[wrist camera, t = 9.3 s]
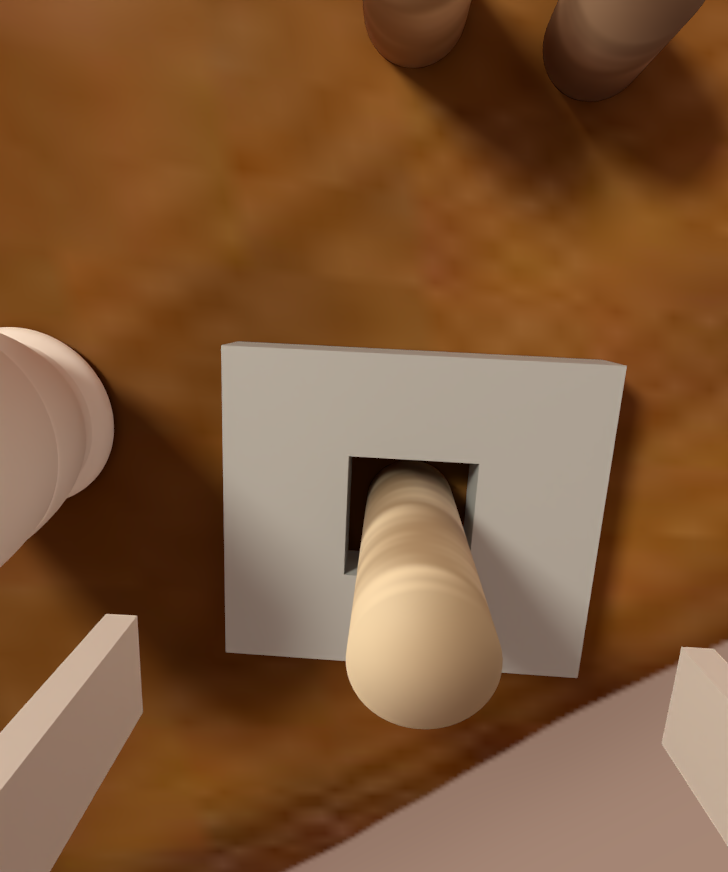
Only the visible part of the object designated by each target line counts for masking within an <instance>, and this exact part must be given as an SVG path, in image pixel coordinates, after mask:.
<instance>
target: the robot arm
mask: <svg viewBox="0 0 728 872" xmlns="http://www.w3.org/2000/svg"><path fill="white" fill-rule="evenodd" d="M142 713H143V707H142V690H141V672H140V654H139V637H138V619H137V616H136V615H118V614H105V616H104V617H103V618H102V619H101V620H100V621H99V622H98V623H97V625H96V626H95V627H94V628H93V629H92V630H91V631H90V632H89V634H88V635H87V636H86V637H85V638H84V639H83V640H82V641H81V643H80V644H79V645H78V646H77V647H76V648H75V649H74V650H73V652H72V653H71V654H70V655H69V656H68V657H67V658H66V659H65V661H64V662H63V663H62V664H61V665H60V666H59V667H58V668H57V670H56V671H55V672H54V673H53V674H52V675H51V676H50V677H49V679H48V680H47V681H46V682H45V683H44V684H43V685H42V686H41V688H40V689H39V690H38V691H37V692H36V693H35V694H34V695H33V697H32V698H31V699H30V700H29V701H28V702H27V703H26V704H25V706H24V707H23V708H22V709H21V710H20V711H19V712H18V713H17V715H16V716H15V717H14V718H13V719H12V720H11V721H10V722H9V724H8V725H7V726H6V727H5V728H4V729H3V730H2V731H1V733H0V872H50V871H51V869H52V867H53V865H54V864H55V862H56V860H57V859H58V857H59V855H60V853H61V852H62V850H63V848H64V847H65V845H66V843H67V841H68V840H69V838H70V836H71V835H72V833H73V831H74V829H75V828H76V826H77V824H78V823H79V821H80V819H81V817H82V816H83V814H84V812H85V811H86V809H87V807H88V805H89V804H90V802H91V800H92V799H93V797H94V795H95V793H96V792H97V790H98V788H99V787H100V785H101V783H102V781H103V780H104V778H105V776H106V775H107V773H108V771H109V769H110V768H111V766H112V764H113V763H114V761H115V759H116V757H117V756H118V754H119V752H120V751H121V749H122V747H123V745H124V744H125V742H126V740H127V739H128V737H129V735H130V733H131V732H132V730H133V728H134V727H135V725H136V723H137V721H138V720H139V718H140V716H141V715H142ZM662 745H663V747H664V748H665V750H666V751H667V753H668V755H669V756H670V758H671V759H672V761H673V762H674V764H675V765H676V767H677V769H678V770H679V772H680V773H681V775H682V776H683V778H684V779H685V781H686V783H687V784H688V786H689V787H690V789H691V790H692V792H693V793H694V795H695V797H696V798H697V800H698V801H699V803H700V804H701V806H702V807H703V809H704V811H705V812H706V814H707V815H708V817H709V818H710V820H711V821H712V823H713V825H714V826H715V827H716V829H717V830H718V832H719V834H720V835H721V837H722V839H723V840H724V842H725V843H726V845H727V846H728V663H727V662H726V661H725V660H724V659H723V658H722V657H721V656H720V655H719V654H718V653H717V652H716V650H715V649H708V648H691V647H681V652H680V657H679V662H678V667H677V671H676V676H675V681H674V686H673V691H672V696H671V700H670V705H669V711H668V715H667V720H666V725H665V730H664V735H663V739H662Z"/></svg>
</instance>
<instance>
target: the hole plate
mask: <svg viewBox="0 0 728 872" xmlns="http://www.w3.org/2000/svg"><path fill="white" fill-rule="evenodd" d="M221 359H222V430H223V500H224V571H225V641H226V652H228V653H242V654H256V655H269V656H283V657H296V658H310V659H324V660H337V661H346V650H347V643H348V635H349V628H350V620H351V613H352V606H353V598H354V591H355V583H356V576H357V569H358V561H359V554H360V551H354V550H348V546H349V523H350V499H351V476H352V456H353V457H371V458H388V459H405V460H422V461H439V462H456V463H470V464H469V474H468V485H467V495H466V506H465V516H464V527H463V529H464V532H465V535H466V538H467V542H468V545H469V548H470V551H471V554H472V557H473V560H474V563H475V567H476V570H477V573H478V576H479V579H480V582H481V585H482V589H483V592H484V595H485V598H486V601H487V604H488V607H489V610H490V614H491V617H492V620H493V623H494V626H495V629H496V632H497V635H498V639H499V642H500V646H501V649H502V657H503V664H502V673H514V674H528V675H542V676H555V677H569V678H578V672H579V665H580V659H581V653H582V646H583V640H584V634H585V627H586V621H587V615H588V608H589V602H590V596H591V589H592V583H593V577H594V571H595V564H596V558H597V552H598V545H599V539H600V533H601V526H602V520H603V514H604V507H605V501H606V495H607V488H608V482H609V476H610V469H611V463H612V457H613V450H614V444H615V438H616V431H617V425H618V419H619V412H620V406H621V400H622V393H623V387H624V381H625V374H626V368H627V366H625V365H621V364H617V363H613V362H609V361H605V360H594V359H574V358H554V357H535V356H515V355H495V354H476V353H456V352H436V351H417V350H397V349H377V348H357V347H338V346H318V345H298V344H279V343H259V342H239V341H238V342H234V343H229V344H225V345H221Z"/></svg>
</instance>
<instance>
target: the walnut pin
mask: <svg viewBox="0 0 728 872" xmlns="http://www.w3.org/2000/svg"><path fill="white" fill-rule="evenodd" d="M704 1H705V0H558V2H557V5H556V7H555V9H554V12H553V14H552V16H551V19H550V21H549V23H548V26H547V28H546V32H545V35H544V41H543V60H544V65H545V68H546V71H547V74H548V76H549V78H550V79H551V81H552V82H553V84H554V85H555V86H556V87H557V88H558V89H559V90H560V91H561V92H562V93H564V94H565V95H567V96H569V97H571V98H573V99H576V100H580V101H588V102H590V101H599V100H604V99H607V98H610V97H612V96H614V95H616V94H618V93H619V92H621V91H622V90H624V89H625V88H626V87H627V86H628V85H630V84H631V82H632V81H633V80H634V79H635V78H636V77H637V76H638V75H639V74H640V73H641V72H642V71H643V70H644V69H645V67H646V66H647V65H648V64H649V63H650V62H651V61H652V60H653V59H654V58H655V57H656V55H657V54H658V53H659V52H660V51H661V50H662V49H663V48H664V47H665V46H666V45H667V44H668V42H669V41H670V40H671V39H672V38H673V37H674V36H675V35H676V34H677V33H678V32H679V31H680V29H681V28H682V27H683V26H684V25H685V24H686V23H687V22H688V21H689V20H690V19H691V18H692V16H693V15H694V14H695V13H696V12H697V11H698V10H699V8H700V7H701V6H702V4H703V3H704Z"/></svg>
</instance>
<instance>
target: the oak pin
mask: <svg viewBox="0 0 728 872" xmlns="http://www.w3.org/2000/svg"><path fill="white" fill-rule="evenodd" d="M470 4H471V0H363V10H364V19H365V25H366V29H367V33H368V35H369V38H370V40H371V42H372V43H373V45H374V46H375V48H376V49H377V51H378V52H379V53H380V54H381V55H382V56H383V57H385V58H386V59H387V60H389V61H390V62H392V63H394V64H396V65H399V66H402V67H407V68H420V67H425V66H428V65H431V64H433V63H435V62H437V61H439V60H441V59H442V58H443V57H445V56H446V55H447V54H448V53H449V52H450V51H451V50H452V49H453V48H454V46H455V45H456V43H457V42H458V40H459V38H460V37H461V35H462V32H463V30H464V27H465V23H466V19H467V16H468V12H469V8H470Z"/></svg>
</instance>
